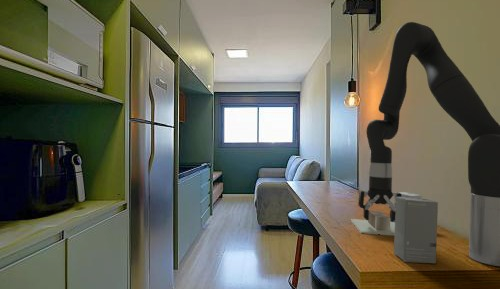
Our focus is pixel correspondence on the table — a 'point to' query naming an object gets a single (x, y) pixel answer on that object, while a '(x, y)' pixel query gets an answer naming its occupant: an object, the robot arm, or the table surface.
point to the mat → (368, 229)
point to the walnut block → (379, 220)
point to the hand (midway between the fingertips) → (379, 220)
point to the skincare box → (416, 230)
